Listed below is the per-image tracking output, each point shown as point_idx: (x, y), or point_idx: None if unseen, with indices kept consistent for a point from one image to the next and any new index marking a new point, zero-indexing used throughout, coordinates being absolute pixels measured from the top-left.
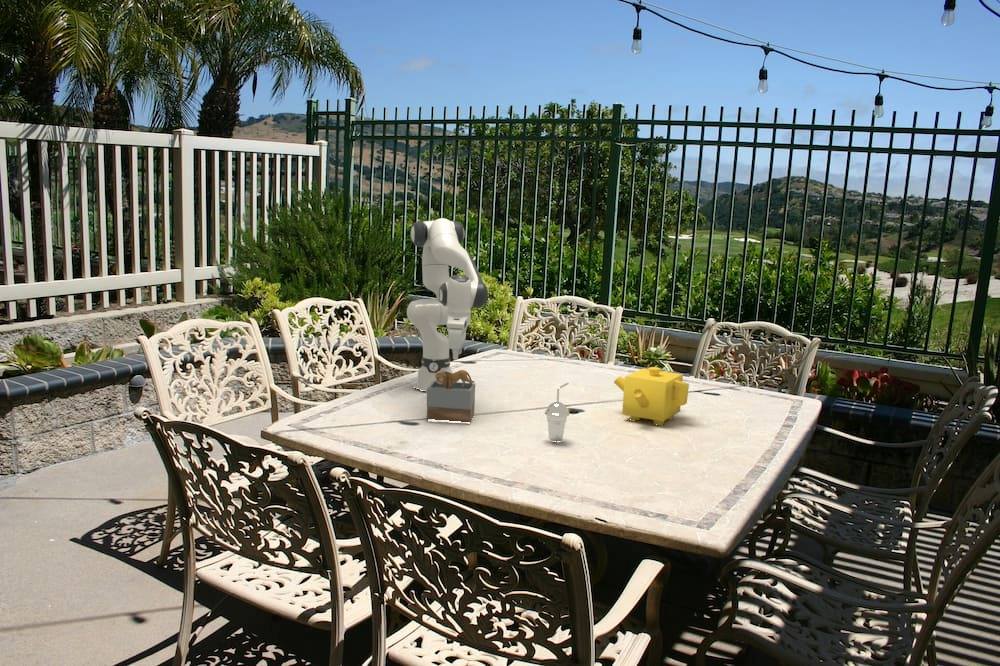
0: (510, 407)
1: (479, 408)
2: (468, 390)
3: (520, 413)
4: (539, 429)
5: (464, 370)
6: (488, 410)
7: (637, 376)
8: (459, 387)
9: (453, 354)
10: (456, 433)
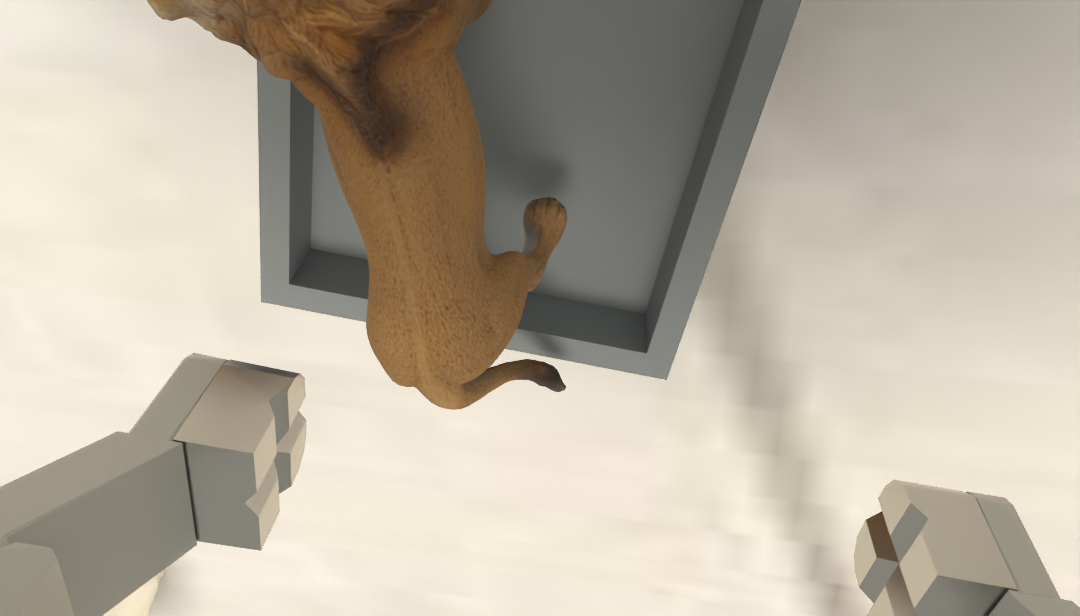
0: (890, 460)
1: (902, 250)
2: (270, 281)
3: (712, 494)
4: (339, 531)
5: (424, 389)
6: (822, 312)
7: None
8: (690, 170)
9: (109, 450)
10: (63, 6)
